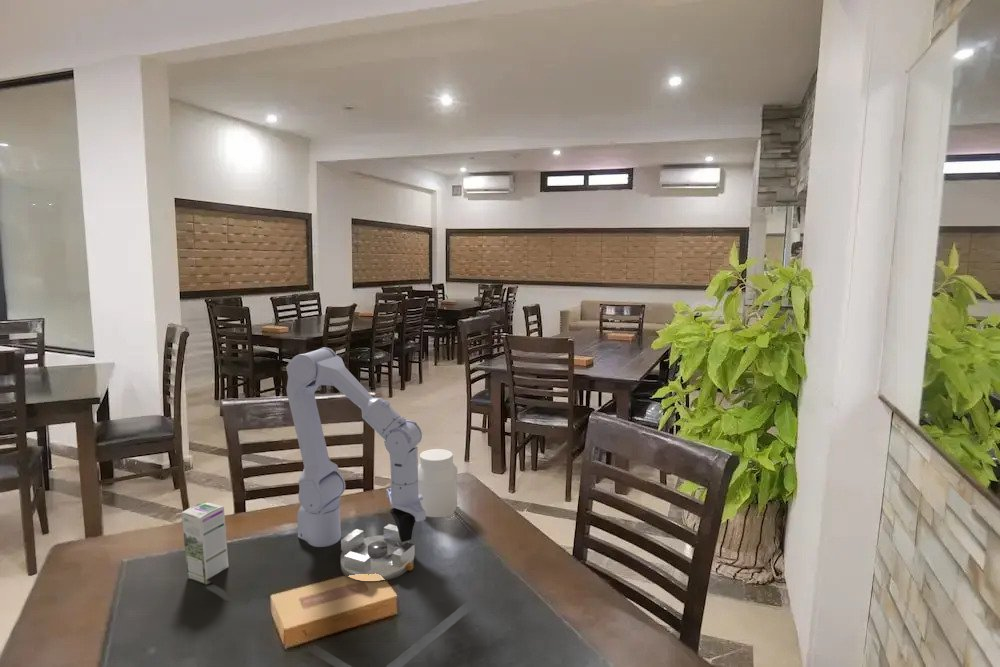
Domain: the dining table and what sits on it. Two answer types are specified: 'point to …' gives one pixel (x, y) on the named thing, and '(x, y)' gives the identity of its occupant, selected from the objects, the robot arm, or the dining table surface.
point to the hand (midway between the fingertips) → (405, 540)
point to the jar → (437, 483)
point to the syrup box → (205, 541)
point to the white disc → (376, 554)
